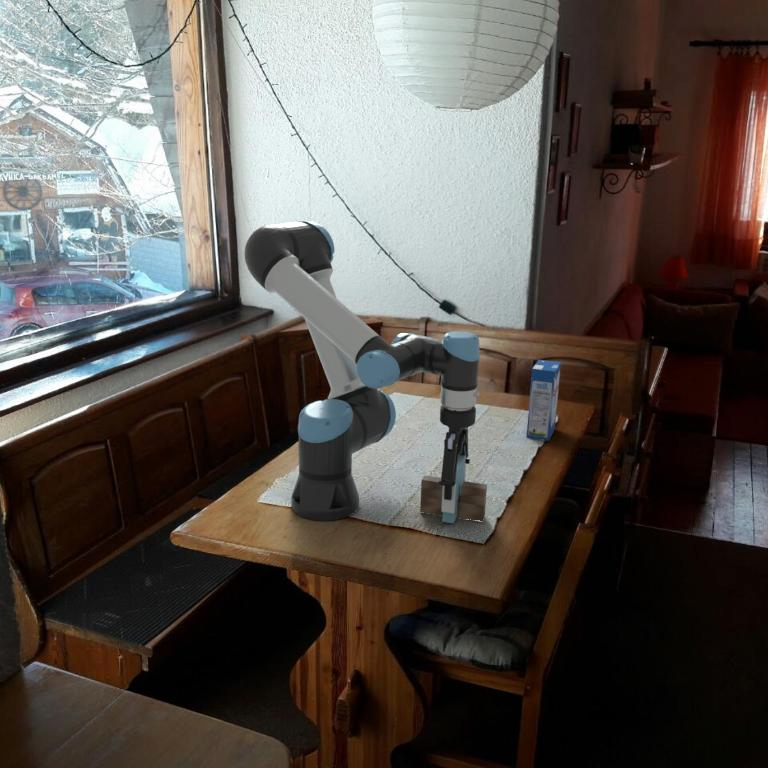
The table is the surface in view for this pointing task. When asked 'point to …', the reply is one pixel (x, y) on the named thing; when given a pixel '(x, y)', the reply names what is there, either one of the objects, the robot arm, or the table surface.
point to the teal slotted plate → (458, 481)
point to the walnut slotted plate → (468, 503)
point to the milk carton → (543, 399)
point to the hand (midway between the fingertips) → (453, 501)
